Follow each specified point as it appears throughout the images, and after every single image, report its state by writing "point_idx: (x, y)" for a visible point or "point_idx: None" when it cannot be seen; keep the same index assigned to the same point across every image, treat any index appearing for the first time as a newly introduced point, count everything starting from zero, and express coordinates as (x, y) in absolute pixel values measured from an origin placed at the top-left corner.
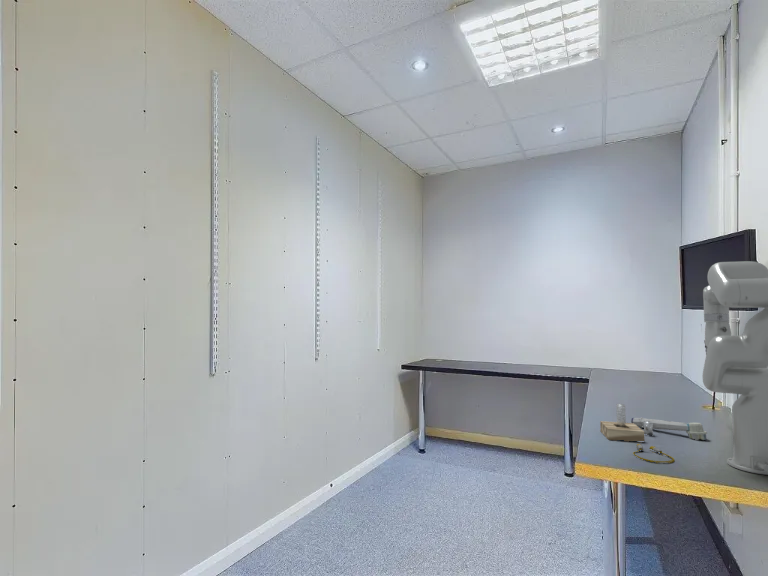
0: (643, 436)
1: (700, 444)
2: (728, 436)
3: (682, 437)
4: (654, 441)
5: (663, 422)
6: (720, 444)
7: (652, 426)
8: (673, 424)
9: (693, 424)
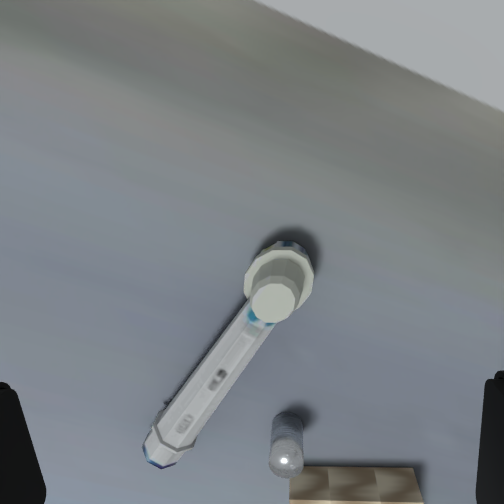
0: (418, 488)
1: (372, 288)
2: (174, 113)
3: None
4: (381, 432)
5: (223, 391)
6: (345, 208)
7: (296, 442)
8: (246, 363)
9: (291, 312)
